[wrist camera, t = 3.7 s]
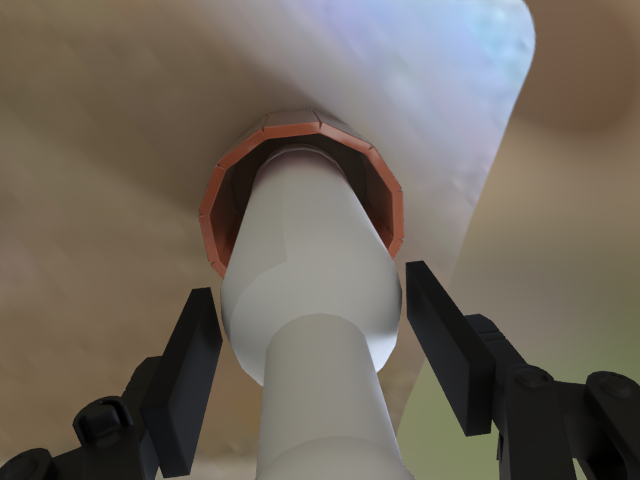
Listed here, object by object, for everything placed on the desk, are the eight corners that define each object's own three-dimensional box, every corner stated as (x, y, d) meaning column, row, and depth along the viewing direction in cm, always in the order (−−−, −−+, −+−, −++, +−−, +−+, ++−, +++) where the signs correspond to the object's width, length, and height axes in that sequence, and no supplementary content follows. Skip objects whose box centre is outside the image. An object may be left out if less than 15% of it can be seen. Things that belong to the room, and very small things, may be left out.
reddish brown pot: (204, 225, 36) (175, 277, 27) (256, 82, 32) (243, 85, 23) (335, 274, 39) (350, 336, 29) (399, 149, 35) (440, 175, 25)
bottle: (282, 244, 37) (264, 741, 9) (236, 170, 34) (16, 567, 7) (360, 204, 36) (594, 623, 8) (319, 124, 33) (476, 361, 6)
